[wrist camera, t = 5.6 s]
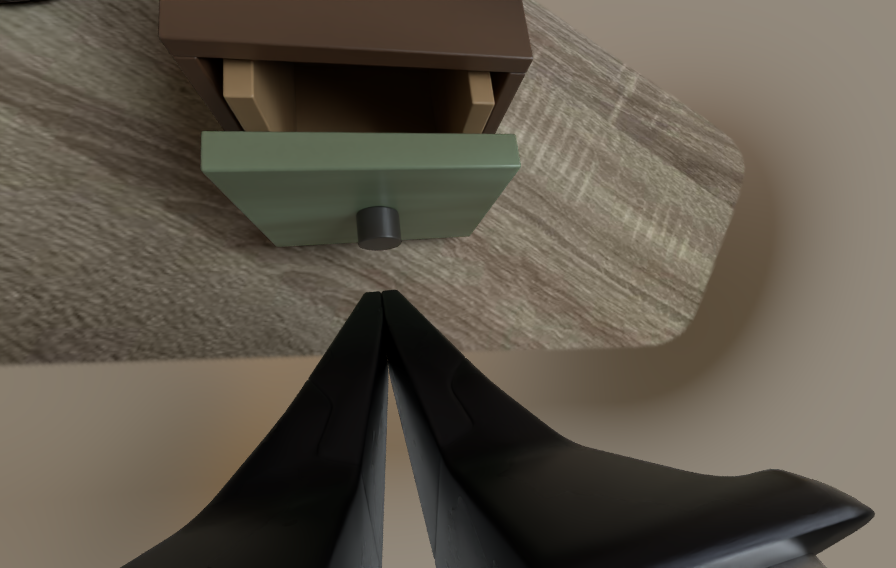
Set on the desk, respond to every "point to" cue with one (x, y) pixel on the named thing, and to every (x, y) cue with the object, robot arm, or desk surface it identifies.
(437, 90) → the drawer
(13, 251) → the desk surface
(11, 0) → the container
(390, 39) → the cabinet
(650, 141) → the desk surface
